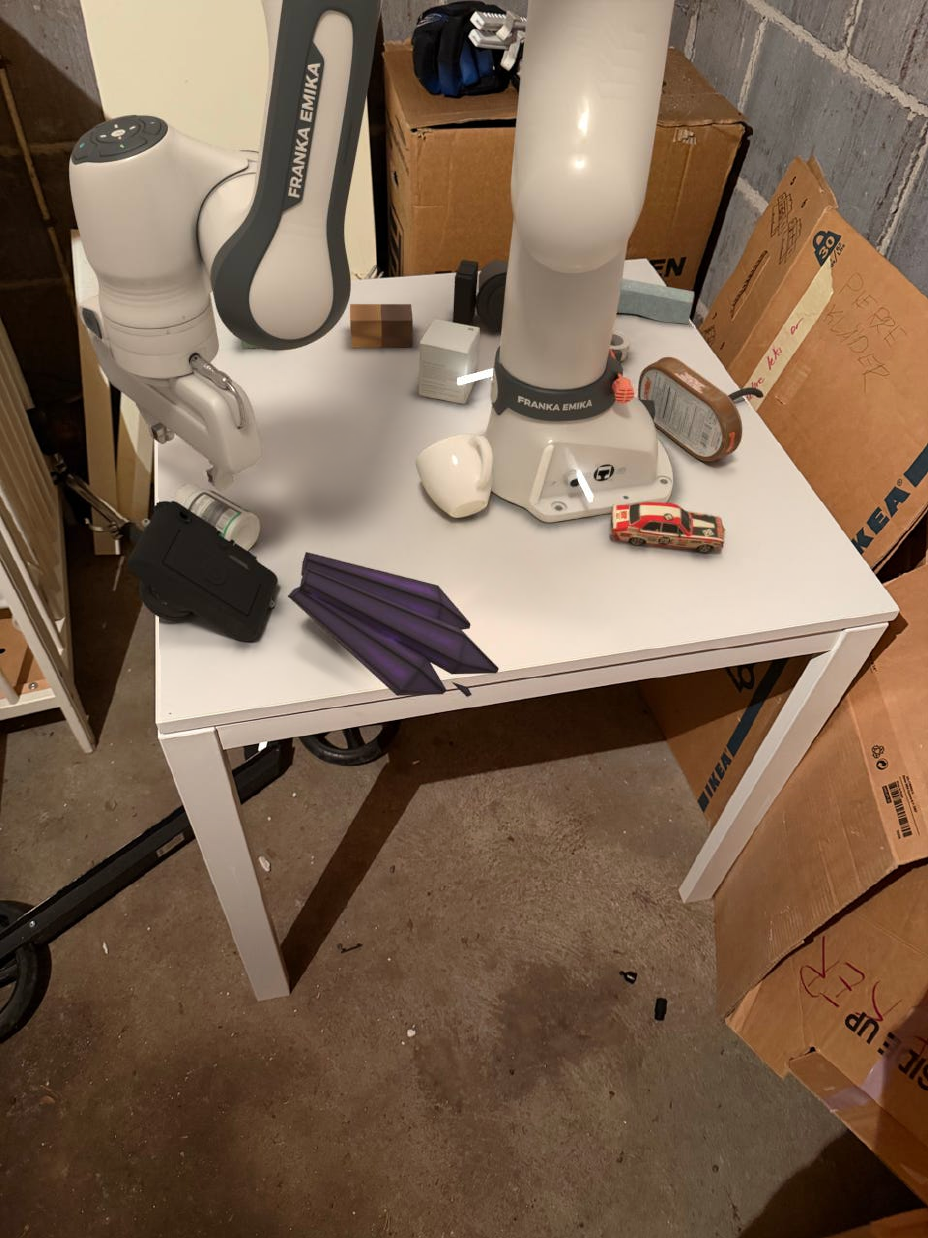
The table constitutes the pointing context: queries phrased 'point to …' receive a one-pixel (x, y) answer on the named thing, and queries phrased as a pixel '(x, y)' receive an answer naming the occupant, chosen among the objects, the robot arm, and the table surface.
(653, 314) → the light blue foam bar
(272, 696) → the table surface
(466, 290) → the ink cartridge
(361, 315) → the block beech
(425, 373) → the product box
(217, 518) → the pill bottle
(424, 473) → the cup
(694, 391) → the tin
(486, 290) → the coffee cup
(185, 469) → the table surface
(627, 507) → the race car
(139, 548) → the camera
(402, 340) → the block walnut
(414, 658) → the crystal
